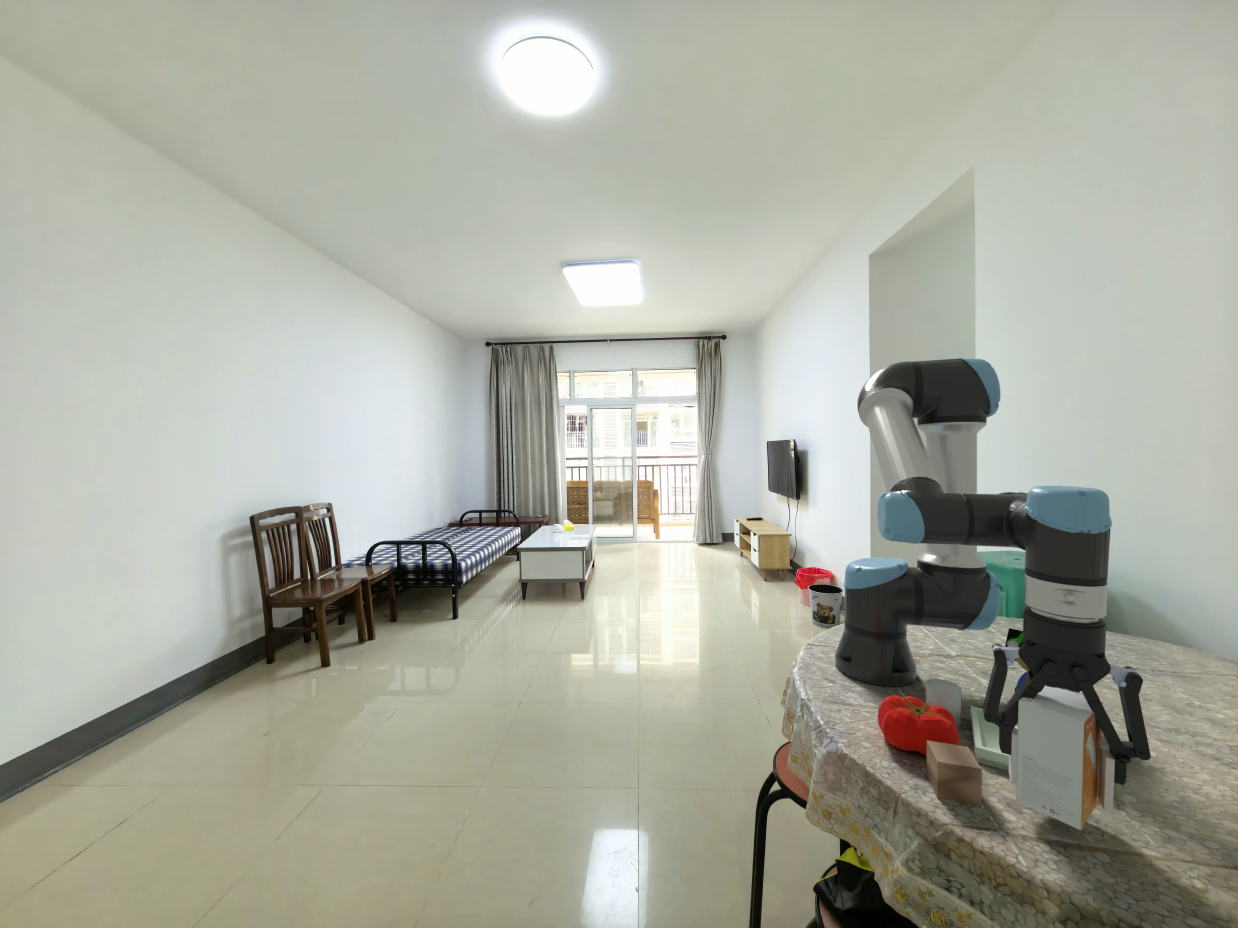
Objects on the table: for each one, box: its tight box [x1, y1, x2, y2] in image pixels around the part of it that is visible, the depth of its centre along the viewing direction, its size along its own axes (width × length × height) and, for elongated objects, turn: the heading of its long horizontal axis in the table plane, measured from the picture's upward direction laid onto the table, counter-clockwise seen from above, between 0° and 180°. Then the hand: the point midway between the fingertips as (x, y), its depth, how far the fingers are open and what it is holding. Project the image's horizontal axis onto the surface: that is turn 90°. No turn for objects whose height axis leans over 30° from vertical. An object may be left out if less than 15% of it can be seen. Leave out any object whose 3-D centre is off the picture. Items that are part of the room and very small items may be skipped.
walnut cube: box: [925, 740, 983, 807], centre depth 67 cm, size 5×5×5 cm
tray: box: [970, 705, 1018, 772], centre depth 75 cm, size 14×14×2 cm
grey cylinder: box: [925, 678, 962, 729], centre depth 84 cm, size 5×5×6 cm
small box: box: [1015, 685, 1104, 831], centre depth 61 cm, size 8×6×13 cm
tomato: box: [877, 694, 960, 757], centre depth 76 cm, size 10×11×6 cm
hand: (1057, 790), depth 61 cm, fingers closed on small box, 8 cm apart
